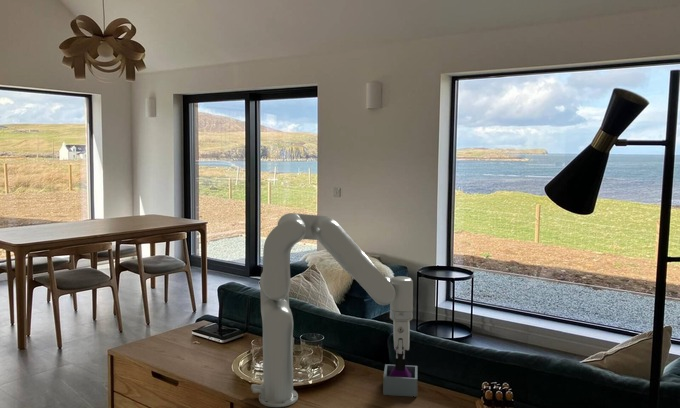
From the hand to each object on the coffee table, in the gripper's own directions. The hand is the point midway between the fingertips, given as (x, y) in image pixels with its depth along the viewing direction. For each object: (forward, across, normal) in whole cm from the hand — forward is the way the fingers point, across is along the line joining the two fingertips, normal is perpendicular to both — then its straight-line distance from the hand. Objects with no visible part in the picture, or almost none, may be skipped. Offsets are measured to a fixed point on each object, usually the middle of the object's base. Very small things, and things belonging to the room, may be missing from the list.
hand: (400, 365), depth 189 cm
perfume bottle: (+7, 0, 0) cm, 7 cm away
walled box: (+8, 0, 0) cm, 8 cm away
